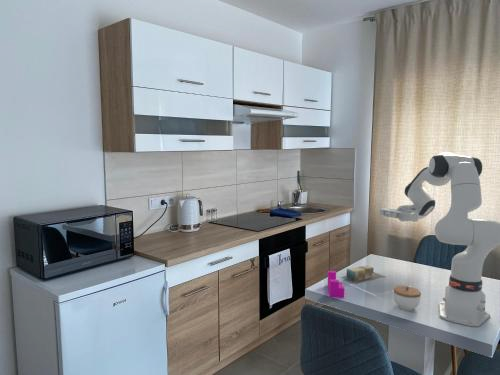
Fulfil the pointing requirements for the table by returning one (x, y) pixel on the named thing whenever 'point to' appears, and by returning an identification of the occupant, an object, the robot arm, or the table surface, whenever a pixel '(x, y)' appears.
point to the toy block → (335, 285)
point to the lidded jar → (407, 297)
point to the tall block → (359, 273)
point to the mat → (375, 276)
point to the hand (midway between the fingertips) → (387, 215)
